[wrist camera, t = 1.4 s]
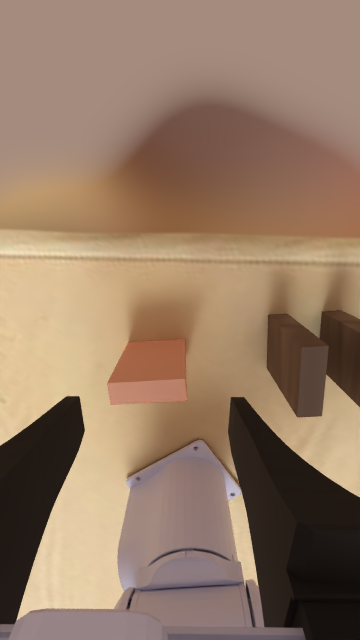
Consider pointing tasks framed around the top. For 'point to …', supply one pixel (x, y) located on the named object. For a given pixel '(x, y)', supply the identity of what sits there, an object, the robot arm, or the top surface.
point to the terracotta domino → (150, 373)
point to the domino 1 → (297, 364)
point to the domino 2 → (343, 350)
